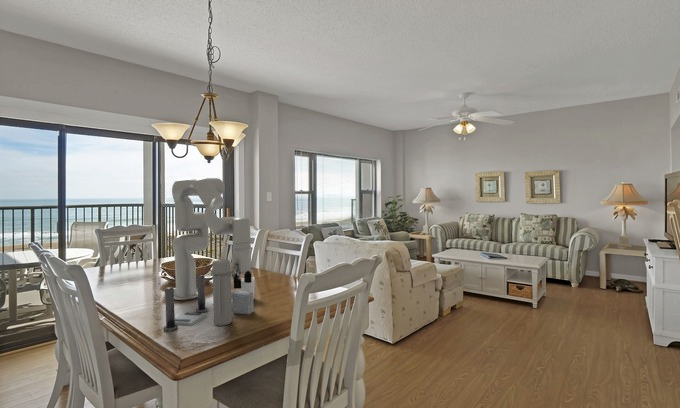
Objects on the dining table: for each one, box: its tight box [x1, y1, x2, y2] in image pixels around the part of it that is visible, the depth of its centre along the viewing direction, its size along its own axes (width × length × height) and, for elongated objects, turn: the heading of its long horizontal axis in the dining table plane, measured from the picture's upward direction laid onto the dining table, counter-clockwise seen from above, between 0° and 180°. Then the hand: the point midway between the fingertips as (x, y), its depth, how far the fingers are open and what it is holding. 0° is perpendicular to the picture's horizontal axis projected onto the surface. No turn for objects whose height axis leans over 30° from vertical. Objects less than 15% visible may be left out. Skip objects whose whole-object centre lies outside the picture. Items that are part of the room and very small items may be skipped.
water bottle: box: [210, 259, 233, 327], centre depth 142 cm, size 9×8×25 cm
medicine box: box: [231, 290, 254, 315], centre depth 156 cm, size 8×4×9 cm, turn 71°
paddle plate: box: [175, 311, 208, 326], centre depth 148 cm, size 11×11×1 cm
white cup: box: [238, 277, 256, 300], centre depth 175 cm, size 8×8×10 cm
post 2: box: [195, 274, 209, 313], centre depth 158 cm, size 5×5×16 cm
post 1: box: [163, 286, 179, 333], centre depth 138 cm, size 5×5×16 cm
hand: (242, 285), depth 156 cm, fingers open, 9 cm apart
